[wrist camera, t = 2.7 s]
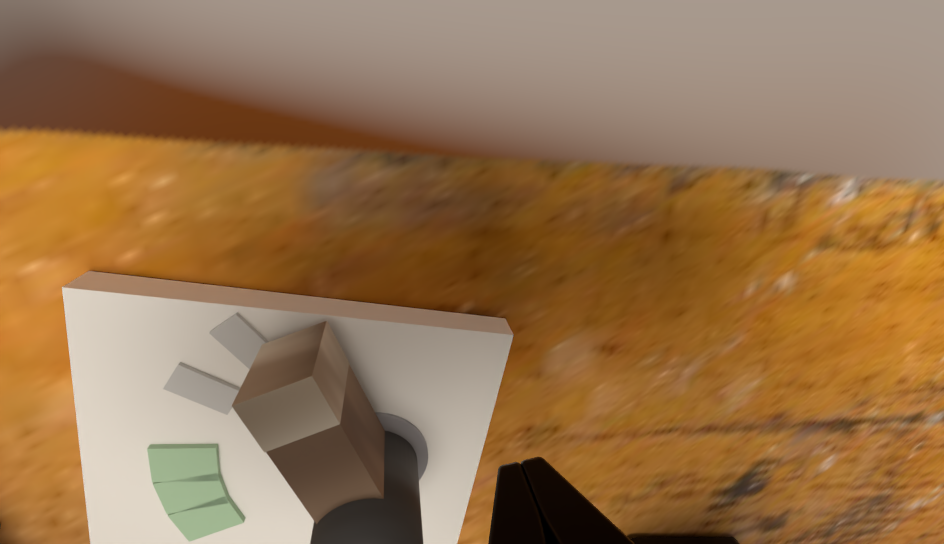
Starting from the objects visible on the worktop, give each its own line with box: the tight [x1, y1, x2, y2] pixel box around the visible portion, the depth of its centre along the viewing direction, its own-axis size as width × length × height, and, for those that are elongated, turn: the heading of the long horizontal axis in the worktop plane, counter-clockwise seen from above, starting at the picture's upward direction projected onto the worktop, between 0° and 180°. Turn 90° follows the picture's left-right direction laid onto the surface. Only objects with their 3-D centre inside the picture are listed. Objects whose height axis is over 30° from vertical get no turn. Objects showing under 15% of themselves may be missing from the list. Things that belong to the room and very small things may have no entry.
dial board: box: [62, 271, 514, 544], centre depth 16 cm, size 13×10×1 cm
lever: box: [232, 321, 423, 544], centre depth 13 cm, size 7×3×4 cm, turn 18°
